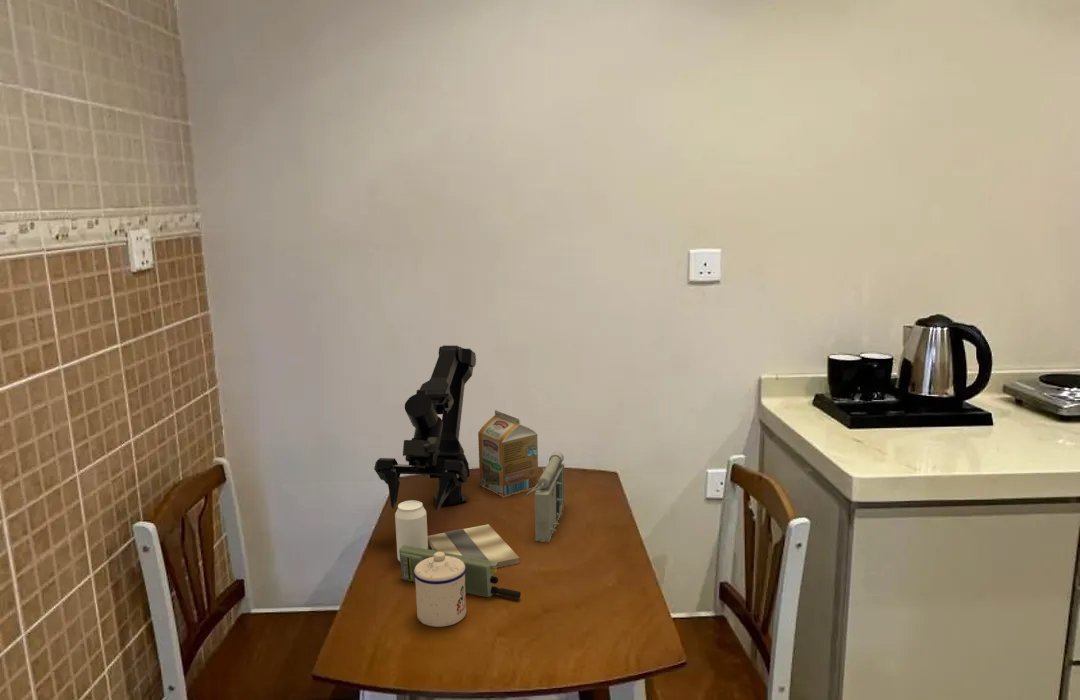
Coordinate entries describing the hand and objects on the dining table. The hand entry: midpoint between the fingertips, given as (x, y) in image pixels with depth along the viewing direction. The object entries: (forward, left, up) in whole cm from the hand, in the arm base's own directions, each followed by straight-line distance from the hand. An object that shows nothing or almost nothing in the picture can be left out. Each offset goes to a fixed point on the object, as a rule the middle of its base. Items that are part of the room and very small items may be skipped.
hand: (414, 508), depth 164 cm
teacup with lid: (+24, -2, -10) cm, 26 cm away
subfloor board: (+4, +11, -10) cm, 15 cm away
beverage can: (+2, -1, -10) cm, 11 cm away
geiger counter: (-5, +32, -10) cm, 34 cm away
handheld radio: (+17, +4, -10) cm, 21 cm away
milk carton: (-27, +31, -10) cm, 42 cm away
